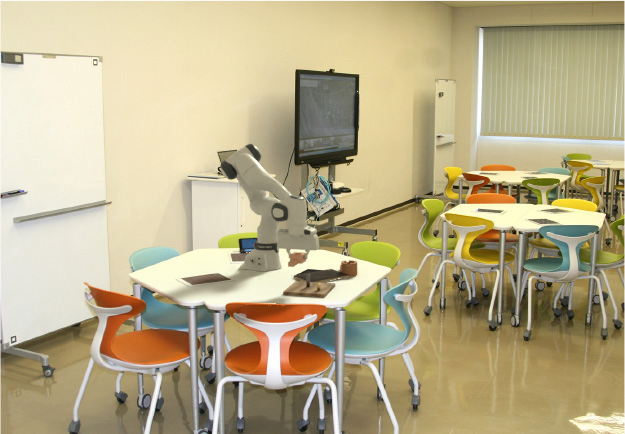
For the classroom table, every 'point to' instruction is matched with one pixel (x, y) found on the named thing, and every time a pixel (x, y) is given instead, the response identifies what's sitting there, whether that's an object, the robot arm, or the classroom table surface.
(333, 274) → the hardcover book
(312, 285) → the board
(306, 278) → the post
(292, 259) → the orange square-holed tool
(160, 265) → the classroom table surface
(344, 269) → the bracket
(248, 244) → the small monitor
